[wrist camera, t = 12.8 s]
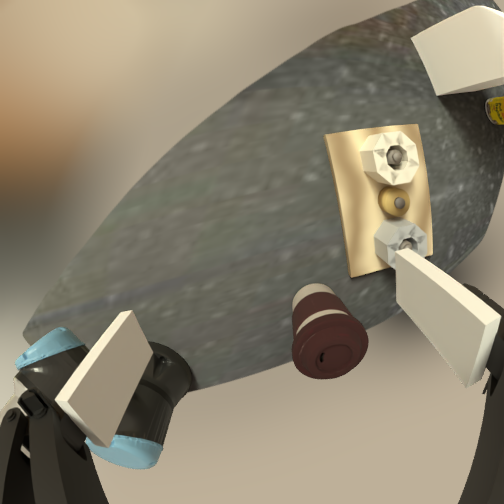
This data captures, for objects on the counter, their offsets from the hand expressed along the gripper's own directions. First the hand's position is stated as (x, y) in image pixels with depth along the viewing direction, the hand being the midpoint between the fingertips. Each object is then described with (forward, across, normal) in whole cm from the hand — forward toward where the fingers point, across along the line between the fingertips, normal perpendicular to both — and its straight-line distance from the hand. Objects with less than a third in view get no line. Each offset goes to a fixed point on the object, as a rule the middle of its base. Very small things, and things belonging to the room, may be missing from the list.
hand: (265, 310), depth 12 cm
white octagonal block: (+27, +19, +4) cm, 34 cm away
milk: (+29, +40, +20) cm, 53 cm away
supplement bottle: (+29, +51, +11) cm, 60 cm away
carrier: (+29, +20, -2) cm, 35 cm away
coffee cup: (+29, +5, -17) cm, 34 cm away
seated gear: (+27, +19, -9) cm, 35 cm away
